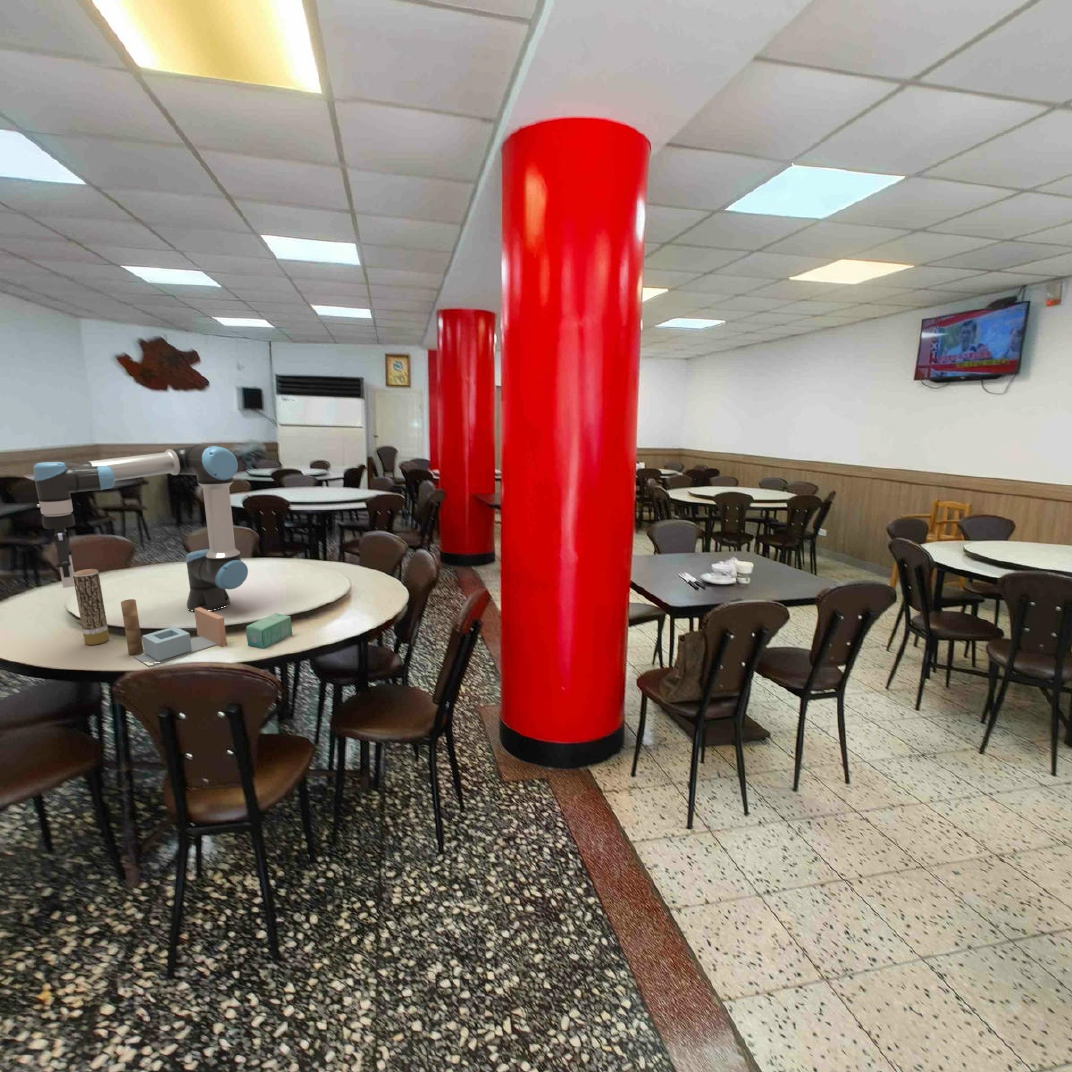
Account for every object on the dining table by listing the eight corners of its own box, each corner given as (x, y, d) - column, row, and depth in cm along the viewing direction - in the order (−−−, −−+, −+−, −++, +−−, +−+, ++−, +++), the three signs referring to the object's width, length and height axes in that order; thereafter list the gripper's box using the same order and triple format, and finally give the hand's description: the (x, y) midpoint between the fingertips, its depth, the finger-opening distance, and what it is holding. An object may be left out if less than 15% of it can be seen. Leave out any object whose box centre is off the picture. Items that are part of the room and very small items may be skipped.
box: (246, 646, 198) (244, 625, 196) (276, 631, 210) (275, 612, 208) (263, 650, 195) (261, 629, 194) (292, 635, 208) (291, 615, 206)
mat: (206, 635, 206) (206, 634, 206) (223, 642, 200) (223, 641, 200) (134, 657, 187) (133, 656, 187) (149, 667, 181) (149, 666, 181)
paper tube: (114, 637, 202) (103, 569, 196) (100, 645, 195) (88, 575, 190) (94, 637, 202) (82, 568, 196) (79, 645, 195) (67, 575, 189)
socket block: (177, 642, 197) (175, 626, 196) (191, 650, 192) (189, 633, 190) (144, 652, 189) (142, 635, 188) (158, 661, 184) (156, 643, 182)
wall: (203, 633, 207) (200, 607, 205) (226, 644, 198) (223, 617, 196) (197, 635, 206) (194, 608, 203) (221, 646, 197) (217, 619, 194)
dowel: (140, 649, 194) (132, 598, 189) (145, 652, 191) (138, 601, 187) (126, 653, 190) (118, 601, 186) (132, 656, 188) (123, 604, 184)
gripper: (42, 508, 182) (54, 573, 187) (39, 522, 163) (52, 594, 168) (73, 506, 186) (83, 569, 191) (73, 519, 167) (84, 589, 172)
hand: (68, 581), depth 180 cm, fingers open, 13 cm apart
